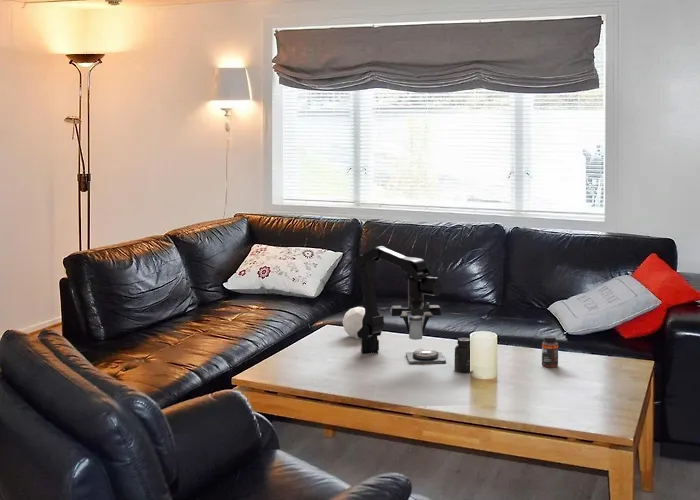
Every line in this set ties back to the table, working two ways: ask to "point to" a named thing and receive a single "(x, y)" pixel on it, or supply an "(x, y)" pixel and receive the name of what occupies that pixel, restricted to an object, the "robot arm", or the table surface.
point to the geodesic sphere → (353, 321)
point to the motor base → (425, 356)
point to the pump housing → (415, 327)
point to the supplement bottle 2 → (550, 352)
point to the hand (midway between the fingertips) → (415, 332)
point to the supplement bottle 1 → (462, 356)
